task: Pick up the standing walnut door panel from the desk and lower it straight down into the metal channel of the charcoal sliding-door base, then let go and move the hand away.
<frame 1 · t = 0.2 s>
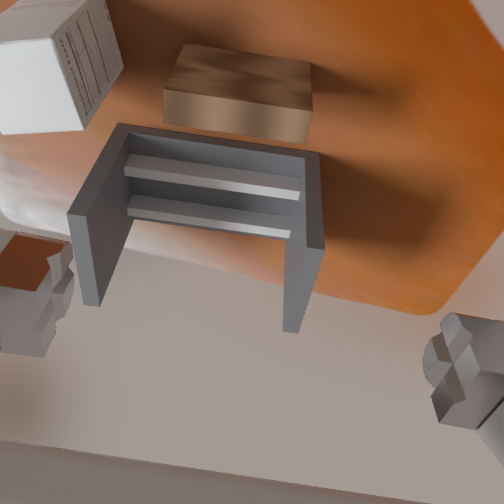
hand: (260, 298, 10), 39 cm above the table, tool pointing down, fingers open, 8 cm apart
door panel: (245, 68, 46), on the table
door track: (215, 183, 55), on the table
supplement box: (79, 31, 45), on the table
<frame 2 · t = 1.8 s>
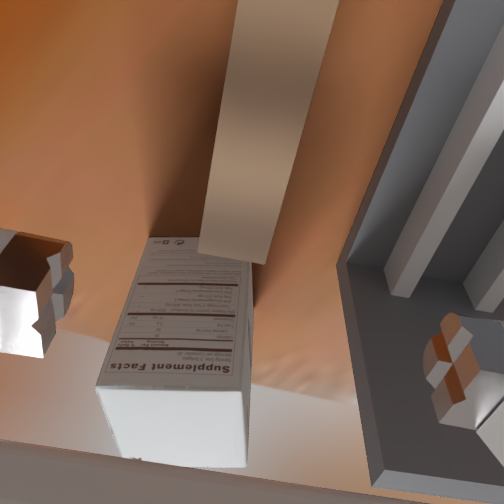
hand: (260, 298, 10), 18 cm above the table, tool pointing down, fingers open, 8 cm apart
door panel: (264, 52, 25), on the table
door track: (494, 140, 27), on the table
supplement box: (204, 273, 35), on the table
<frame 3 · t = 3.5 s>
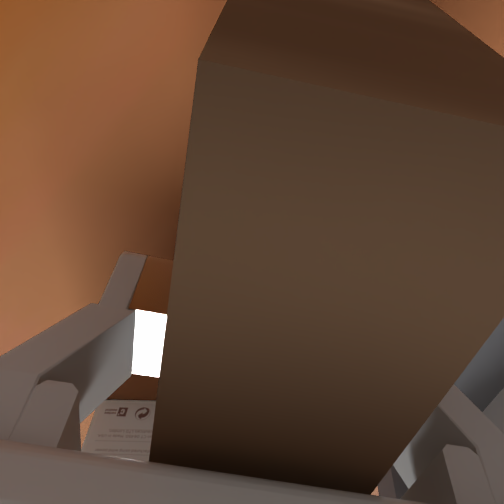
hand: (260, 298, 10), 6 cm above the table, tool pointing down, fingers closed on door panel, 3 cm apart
door panel: (267, 173, 15), on the table, touching gripper
supplement box: (182, 437, 25), on the table
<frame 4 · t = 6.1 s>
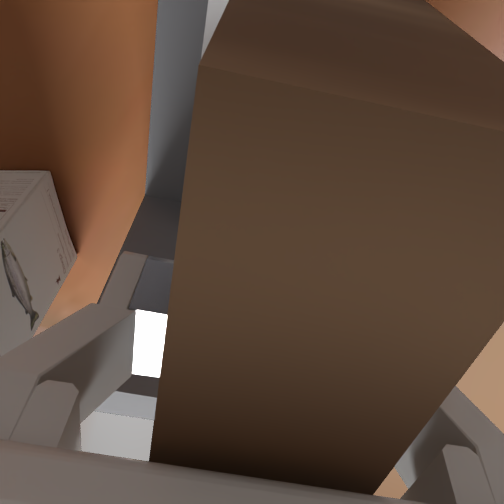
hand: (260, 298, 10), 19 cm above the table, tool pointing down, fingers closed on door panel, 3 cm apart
door panel: (266, 175, 15), point 13 cm above the table, touching gripper
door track: (273, 54, 25), on the table
supplement box: (17, 213, 33), on the table
when the fingers open (8 cm above the table, at t = 8.6 s): door panel stays where it is, resting on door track.
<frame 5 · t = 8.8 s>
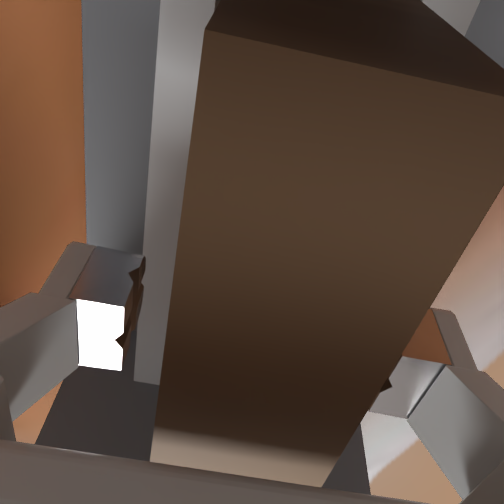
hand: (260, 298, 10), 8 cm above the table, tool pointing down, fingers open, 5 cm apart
door panel: (265, 160, 15), point 1 cm above the table, touching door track
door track: (270, 141, 17), on the table
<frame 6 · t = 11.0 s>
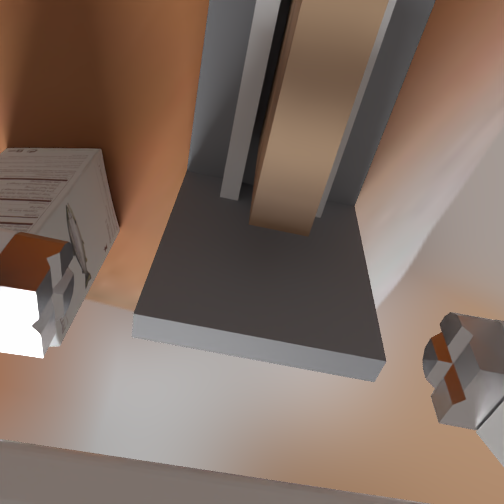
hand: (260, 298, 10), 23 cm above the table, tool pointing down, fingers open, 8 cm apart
door panel: (306, 50, 27), point 1 cm above the table, touching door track
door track: (307, 43, 29), on the table
supplement box: (67, 188, 36), on the table
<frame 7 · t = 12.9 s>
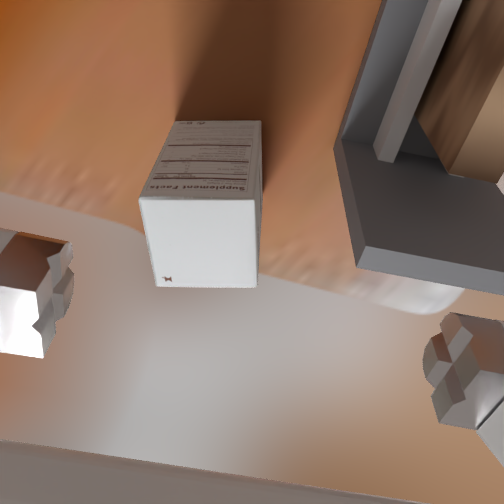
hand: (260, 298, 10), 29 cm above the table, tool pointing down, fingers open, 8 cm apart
door panel: (468, 29, 32), point 1 cm above the table, touching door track
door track: (463, 23, 33), on the table
supplement box: (221, 157, 41), on the table
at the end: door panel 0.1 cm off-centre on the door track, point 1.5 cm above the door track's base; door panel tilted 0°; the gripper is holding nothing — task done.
